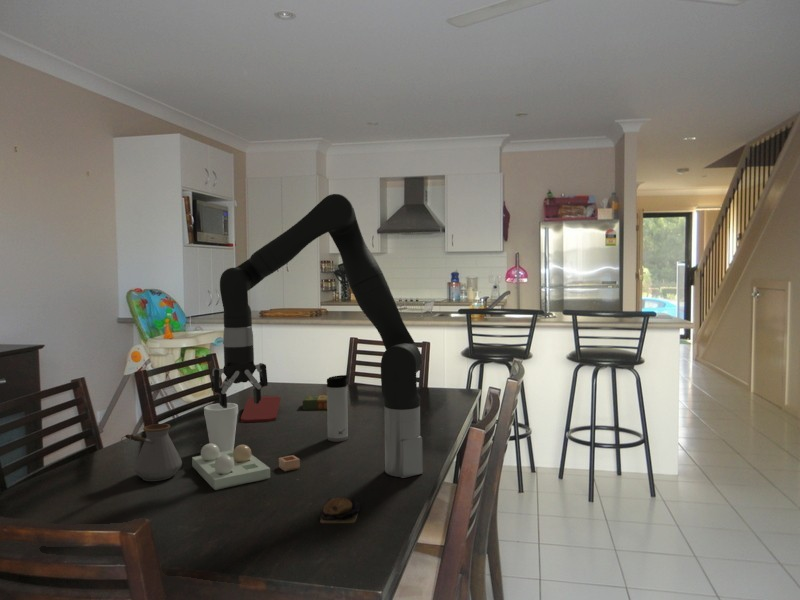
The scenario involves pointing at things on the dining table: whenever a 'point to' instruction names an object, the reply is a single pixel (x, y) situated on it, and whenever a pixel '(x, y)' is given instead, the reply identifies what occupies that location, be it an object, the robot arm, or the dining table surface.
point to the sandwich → (340, 511)
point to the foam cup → (221, 425)
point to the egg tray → (237, 476)
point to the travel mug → (337, 408)
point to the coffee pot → (156, 454)
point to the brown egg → (242, 453)
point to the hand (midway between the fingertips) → (240, 405)
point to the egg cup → (289, 463)
